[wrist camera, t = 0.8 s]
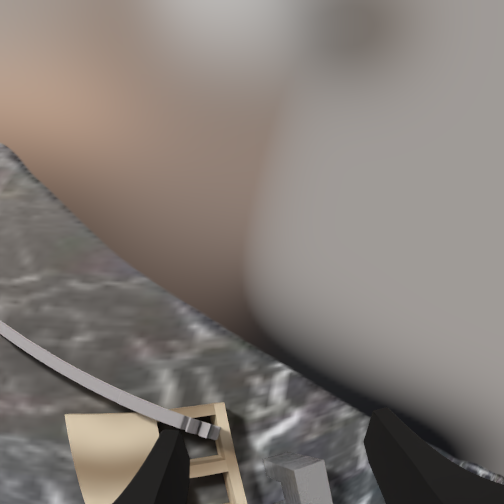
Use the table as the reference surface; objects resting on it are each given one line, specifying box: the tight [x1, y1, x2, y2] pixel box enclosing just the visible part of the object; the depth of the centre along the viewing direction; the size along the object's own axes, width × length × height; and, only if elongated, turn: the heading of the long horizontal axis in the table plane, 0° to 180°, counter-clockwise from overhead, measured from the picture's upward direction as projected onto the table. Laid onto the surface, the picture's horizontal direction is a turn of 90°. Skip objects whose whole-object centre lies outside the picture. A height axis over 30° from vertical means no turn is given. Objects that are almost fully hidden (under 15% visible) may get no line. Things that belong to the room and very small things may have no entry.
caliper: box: [0, 320, 221, 440], centre depth 18 cm, size 20×1×6 cm, turn 74°
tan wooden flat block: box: [65, 403, 247, 504], centre depth 18 cm, size 10×12×2 cm
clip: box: [263, 452, 333, 504], centre depth 18 cm, size 6×2×6 cm, turn 12°
